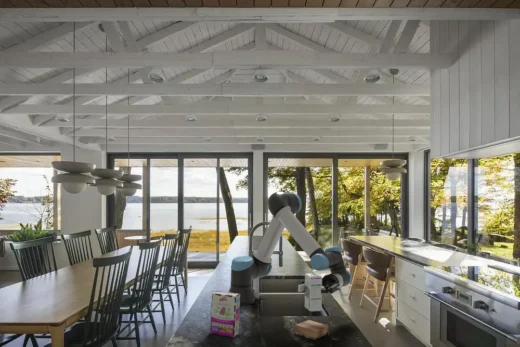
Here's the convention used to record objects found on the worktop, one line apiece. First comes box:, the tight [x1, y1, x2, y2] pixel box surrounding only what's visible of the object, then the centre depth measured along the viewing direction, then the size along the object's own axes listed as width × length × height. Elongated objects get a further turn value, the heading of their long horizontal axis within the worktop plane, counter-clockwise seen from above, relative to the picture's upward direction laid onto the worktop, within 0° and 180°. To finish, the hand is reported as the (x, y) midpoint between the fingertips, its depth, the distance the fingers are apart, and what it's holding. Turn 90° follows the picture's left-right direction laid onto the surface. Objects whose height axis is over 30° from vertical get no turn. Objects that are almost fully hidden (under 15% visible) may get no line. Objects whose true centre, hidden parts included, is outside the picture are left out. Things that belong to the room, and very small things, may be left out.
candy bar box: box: [209, 290, 241, 338], centre depth 150 cm, size 11×5×16 cm, turn 69°
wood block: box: [294, 319, 330, 338], centre depth 153 cm, size 10×10×4 cm
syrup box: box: [303, 272, 323, 312], centre depth 155 cm, size 6×6×14 cm
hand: (307, 290), depth 151 cm, fingers closed on syrup box, 8 cm apart
